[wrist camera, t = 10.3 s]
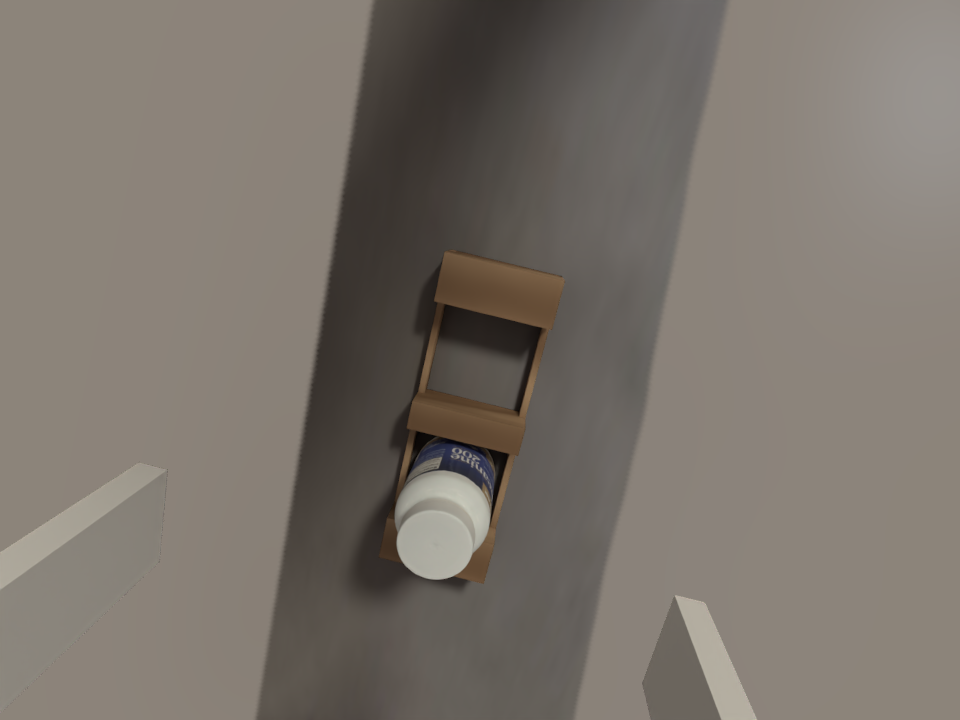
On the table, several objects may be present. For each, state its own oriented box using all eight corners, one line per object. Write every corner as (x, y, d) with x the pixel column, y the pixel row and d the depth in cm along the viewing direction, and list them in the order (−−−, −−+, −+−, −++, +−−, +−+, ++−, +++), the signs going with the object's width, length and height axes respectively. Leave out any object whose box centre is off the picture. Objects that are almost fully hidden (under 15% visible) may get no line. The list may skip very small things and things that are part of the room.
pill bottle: (511, 477, 39) (508, 558, 30) (448, 518, 40) (425, 610, 31) (463, 414, 38) (444, 477, 29) (400, 458, 39) (361, 533, 30)
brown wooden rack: (450, 249, 36) (444, 251, 33) (561, 276, 36) (564, 280, 33) (389, 533, 41) (378, 557, 38) (486, 558, 41) (483, 583, 38)
